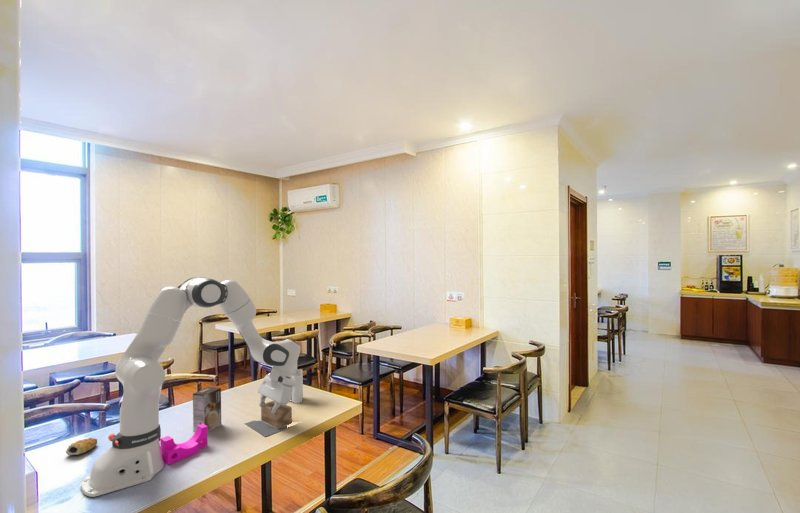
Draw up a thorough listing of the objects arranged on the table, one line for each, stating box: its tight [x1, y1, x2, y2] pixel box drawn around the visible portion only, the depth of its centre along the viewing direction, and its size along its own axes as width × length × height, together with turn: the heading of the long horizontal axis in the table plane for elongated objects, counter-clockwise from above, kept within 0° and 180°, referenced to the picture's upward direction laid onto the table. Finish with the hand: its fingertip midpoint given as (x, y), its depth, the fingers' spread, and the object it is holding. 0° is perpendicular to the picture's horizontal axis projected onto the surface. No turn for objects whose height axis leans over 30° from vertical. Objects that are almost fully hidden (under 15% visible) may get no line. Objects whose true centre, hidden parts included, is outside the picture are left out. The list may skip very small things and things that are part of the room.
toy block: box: [160, 424, 209, 466], centre depth 142 cm, size 15×6×8 cm, turn 143°
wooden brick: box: [260, 400, 293, 429], centre depth 167 cm, size 7×13×7 cm, turn 48°
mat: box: [244, 420, 290, 438], centre depth 170 cm, size 30×18×1 cm, turn 138°
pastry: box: [65, 437, 98, 456], centre depth 144 cm, size 9×7×4 cm
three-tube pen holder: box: [289, 362, 304, 404], centre depth 192 cm, size 11×7×20 cm, turn 59°
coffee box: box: [192, 386, 222, 433], centre depth 162 cm, size 9×6×16 cm
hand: (266, 409), depth 163 cm, fingers open, 8 cm apart
